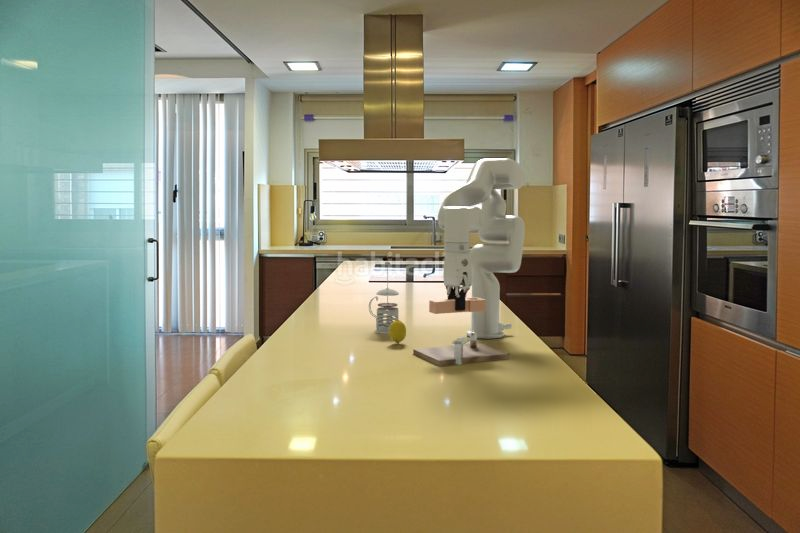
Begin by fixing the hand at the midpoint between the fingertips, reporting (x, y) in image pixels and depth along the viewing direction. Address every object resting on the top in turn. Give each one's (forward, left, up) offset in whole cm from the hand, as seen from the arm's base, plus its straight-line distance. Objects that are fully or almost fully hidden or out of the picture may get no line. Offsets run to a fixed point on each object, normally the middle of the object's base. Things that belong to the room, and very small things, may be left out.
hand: (456, 308), depth 206 cm
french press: (+5, -43, -14) cm, 46 cm away
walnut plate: (0, +3, -14) cm, 14 cm away
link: (0, 0, -1) cm, 1 cm away
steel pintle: (-6, 0, -12) cm, 14 cm away
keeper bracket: (+3, +9, -14) cm, 17 cm away
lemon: (+10, -21, -14) cm, 27 cm away
